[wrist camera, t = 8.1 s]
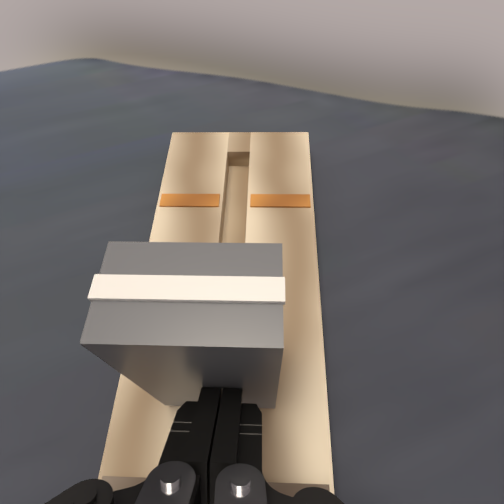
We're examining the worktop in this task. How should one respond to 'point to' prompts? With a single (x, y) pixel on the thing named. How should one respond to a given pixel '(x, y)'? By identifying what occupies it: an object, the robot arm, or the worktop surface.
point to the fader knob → (190, 318)
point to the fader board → (294, 311)
